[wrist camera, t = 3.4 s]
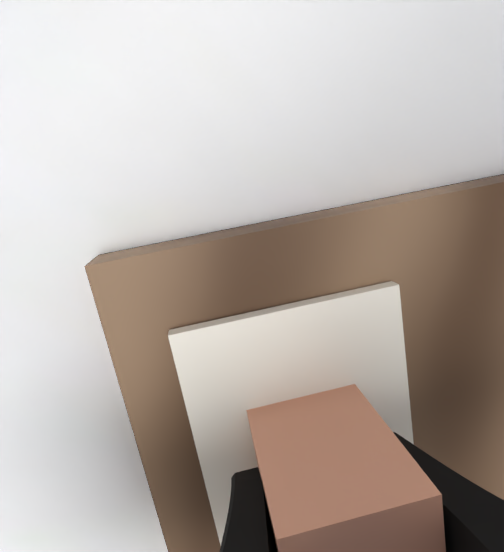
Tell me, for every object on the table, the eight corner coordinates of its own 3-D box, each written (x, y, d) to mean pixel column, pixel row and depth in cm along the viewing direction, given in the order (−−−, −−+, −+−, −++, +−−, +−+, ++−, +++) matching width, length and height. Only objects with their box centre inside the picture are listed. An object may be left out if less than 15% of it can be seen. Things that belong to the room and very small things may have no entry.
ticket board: (728, 129, 13) (873, 116, 10) (690, 467, 16) (791, 526, 14) (98, 254, 11) (67, 280, 8) (198, 607, 15) (199, 709, 12)
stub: (392, 280, 11) (518, 345, 7) (417, 545, 13) (523, 719, 9) (168, 330, 10) (151, 434, 6) (235, 596, 13) (256, 807, 8)
